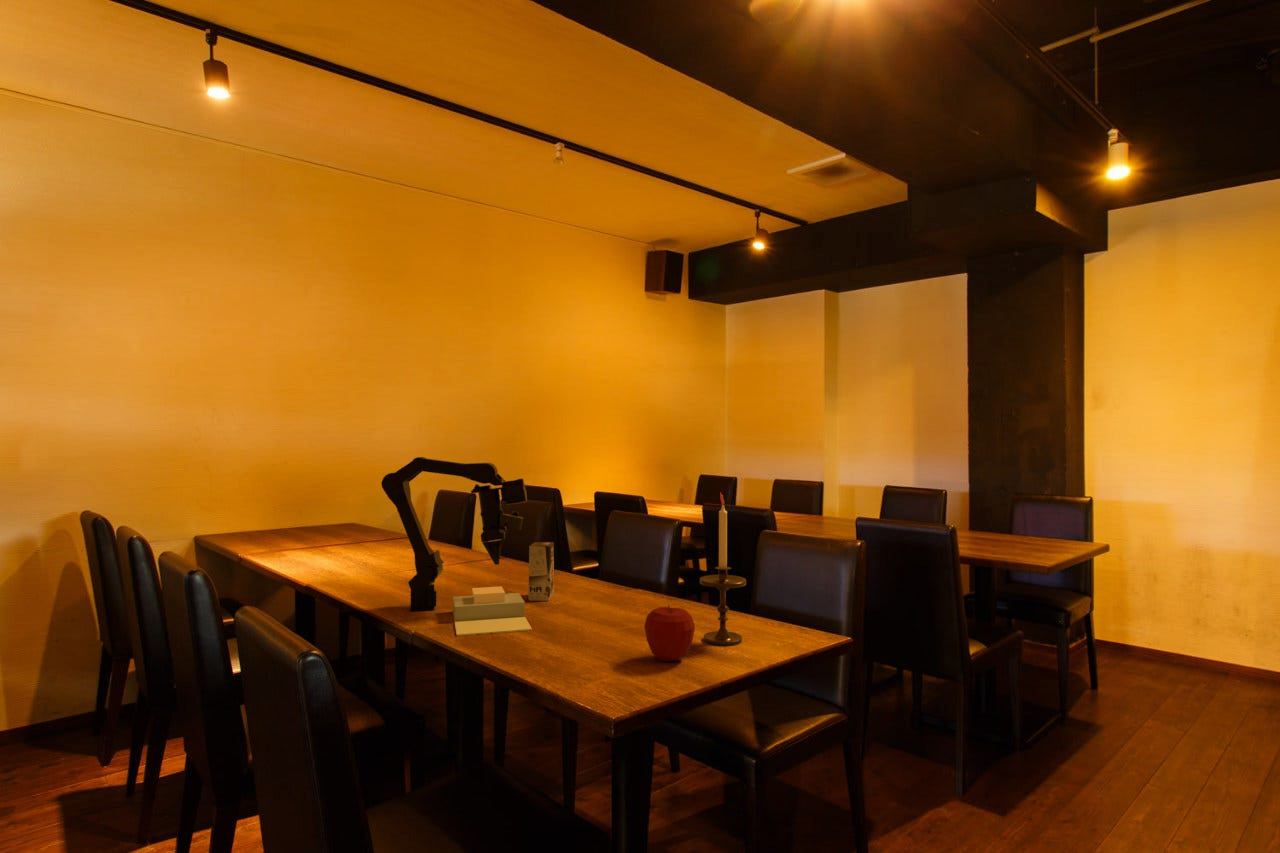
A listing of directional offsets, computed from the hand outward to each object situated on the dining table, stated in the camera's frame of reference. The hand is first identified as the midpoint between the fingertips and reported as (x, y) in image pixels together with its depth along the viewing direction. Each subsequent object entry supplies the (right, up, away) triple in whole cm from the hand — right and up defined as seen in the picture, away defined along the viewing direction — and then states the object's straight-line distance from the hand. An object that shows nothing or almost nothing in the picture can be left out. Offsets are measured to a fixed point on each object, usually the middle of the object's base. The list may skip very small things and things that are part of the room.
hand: (497, 561), depth 195 cm
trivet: (-1, -9, -8) cm, 12 cm away
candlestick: (+60, -13, -31) cm, 69 cm away
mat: (+3, -12, -21) cm, 24 cm away
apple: (+46, -12, -46) cm, 66 cm away
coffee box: (+11, -13, +12) cm, 21 cm away
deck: (-1, -13, -8) cm, 15 cm away
